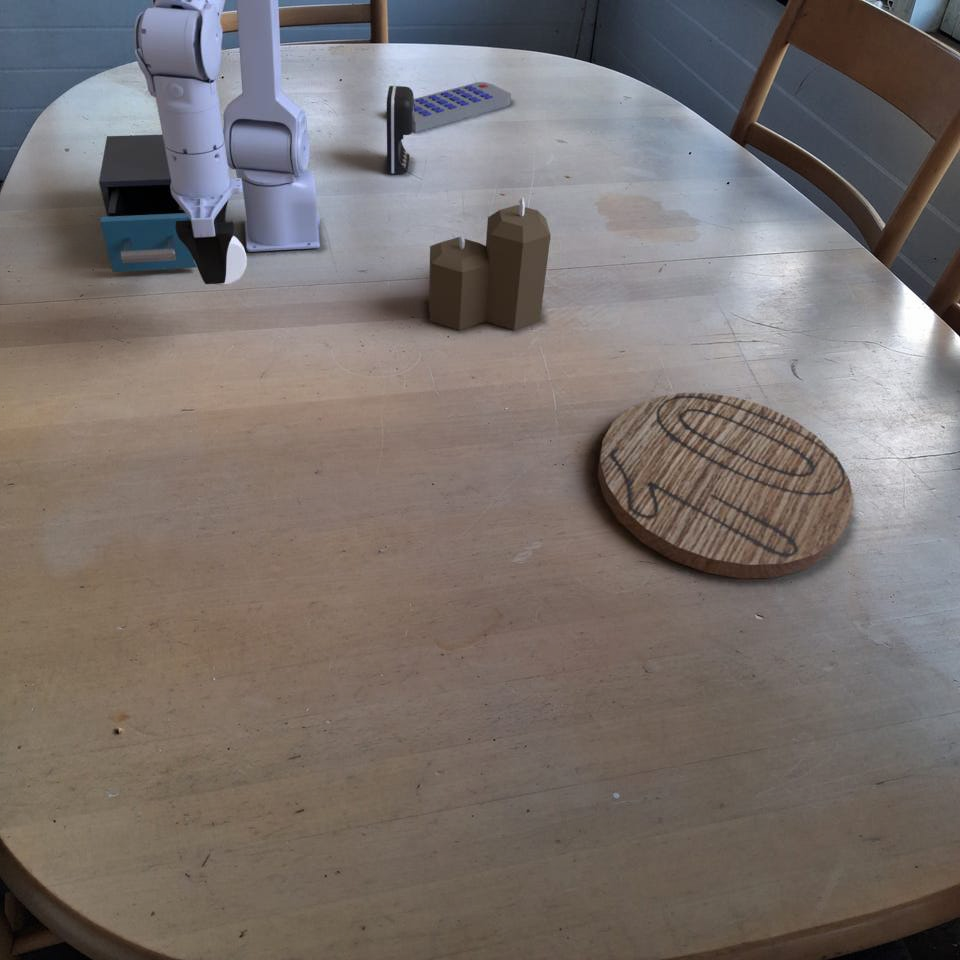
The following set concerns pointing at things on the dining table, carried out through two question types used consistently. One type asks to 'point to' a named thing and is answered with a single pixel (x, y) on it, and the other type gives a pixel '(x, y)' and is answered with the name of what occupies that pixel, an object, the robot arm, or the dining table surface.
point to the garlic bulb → (235, 261)
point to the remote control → (457, 104)
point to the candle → (492, 273)
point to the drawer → (144, 230)
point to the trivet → (724, 485)
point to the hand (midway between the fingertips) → (214, 264)
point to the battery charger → (398, 127)
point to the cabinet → (133, 163)
